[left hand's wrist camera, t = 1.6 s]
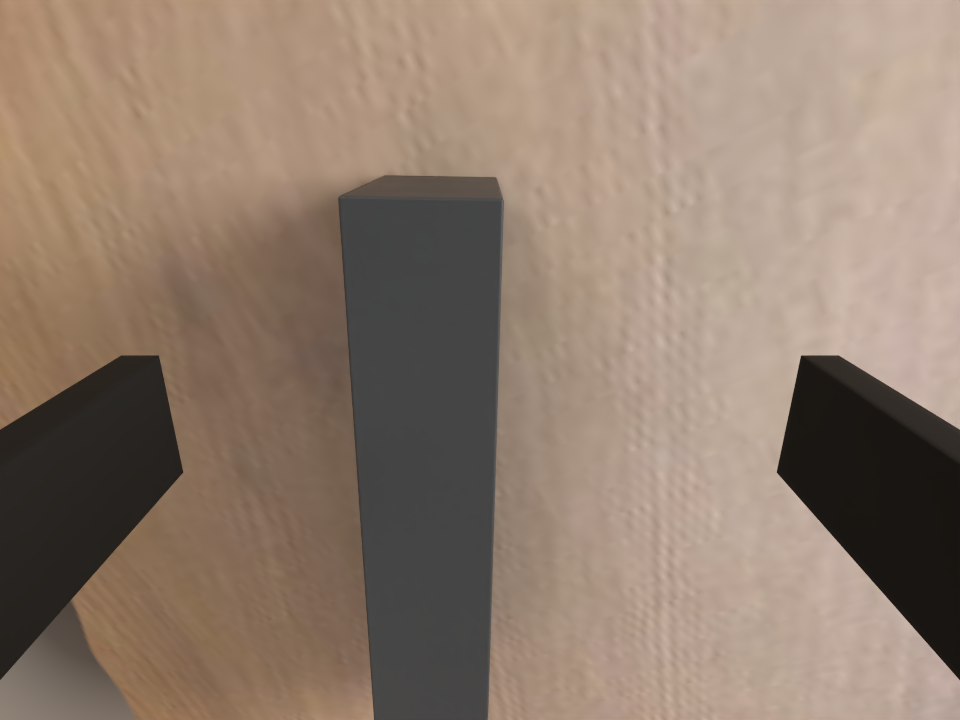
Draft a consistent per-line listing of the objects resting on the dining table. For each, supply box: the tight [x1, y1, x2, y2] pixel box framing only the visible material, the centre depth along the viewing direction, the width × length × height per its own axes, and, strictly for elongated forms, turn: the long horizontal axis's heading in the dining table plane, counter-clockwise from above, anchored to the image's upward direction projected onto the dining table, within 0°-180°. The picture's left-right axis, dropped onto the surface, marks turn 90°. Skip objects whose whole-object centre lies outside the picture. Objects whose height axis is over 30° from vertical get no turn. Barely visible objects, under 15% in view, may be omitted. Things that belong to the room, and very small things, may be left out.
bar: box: [338, 175, 504, 720], centre depth 25 cm, size 26×5×8 cm, turn 179°
